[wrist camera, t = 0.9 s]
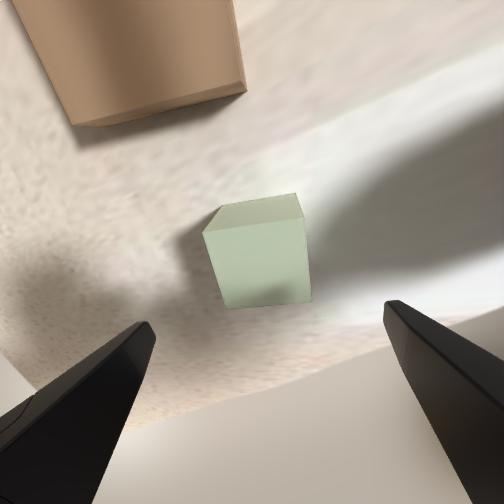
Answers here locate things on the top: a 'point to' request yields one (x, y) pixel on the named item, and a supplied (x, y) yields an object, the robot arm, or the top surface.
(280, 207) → the sage cube
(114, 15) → the walnut slab
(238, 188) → the top surface
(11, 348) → the top surface
